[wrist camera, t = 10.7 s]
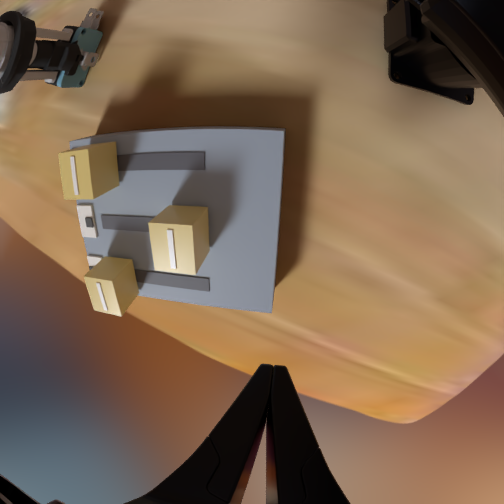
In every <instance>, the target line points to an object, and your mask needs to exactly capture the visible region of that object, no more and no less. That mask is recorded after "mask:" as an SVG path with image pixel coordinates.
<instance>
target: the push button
mask: <svg viewBox="0 0 504 504" xmlns="http://www.w3.org/2000/svg"><path fill="white" fill-rule="evenodd" d="M91 12H92V13H93V14H92V16H90V17H89V14H90V13H91ZM103 13H104V11H97V9H92V8H90V9H89V11H88V13H87V15H86V17H85V19H84V21H82V23H81V25H80V27H76V26H65V27H64V29H63V30H62V31H57V30H50V29H43V28H36V26H35V22H34V21H33V20H30V19H28V18H26V17H24V16H22V14H21V13H19V12H17V11H8V12H6V13H4V14H3V15H1V16H0V94H1V93H5V92H8V91H11V90H12V89H13V88H14V87H15V85H16V84H17V83H18V82H19V81H25V80H42V79H45V82H46V83H48V84H52V85H55V86H59V87H62V88H69V87H82V86H83V84H84V82H85V78H86V75H87V72H88V70H89V67H90V66H91V67H93V66H95V64H96V62H97V59H98V57H99V54H98V53H95V52H96V49H97V47H98V45H99V42H100V40H101V38H102V35H103V33H102V32H101V31H97V29H98V27H99V24H98V23H99V21H100V19H101V17H102V15H103ZM97 15H100V16H99V18H98V19H96V16H97ZM91 21H92V22H91ZM36 37H40V38H50V39H59V40H58V41H48V40H42V41H40V40H35V38H36ZM93 57H94V58H95V59H94V61H93V62H92V59H93ZM91 62H92V63H91ZM27 68H39V69H43V70H27Z"/></svg>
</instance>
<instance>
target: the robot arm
mask: <svg viewBox="0 0 504 504" xmlns="http://www.w3.org/2000/svg"><path fill="white" fill-rule="evenodd" d="M392 1H394V2H396V3H397V4H396V5H394V4H393V3H392ZM384 49H385V50H386V51H387V52H388V53H389V68H388V75H389V78H390V80H391V81H392V82H394V83H396V84H400V85H404V86H408V87H412V88H416V89H419V90H423V91H426V92H430V93H433V94H436V95H439V96H442V97H446V98H448V99H451V100H454V101H457V102H460V103H463V104H466V105H471V104H472V103H473V100H474V88H483V89H484V90H485V91H486V92H487V94H488V95H489V97H490V98H491V99H492V101H493V102H494V103H495V105H496V106H497V108H498V109H499V111H500V112H501V114H502V115H503V117H504V0H387V14H386V15H385V16H384ZM395 72H396V73H398V74H399V79H396V78H395V77H394V73H395ZM466 95H467V96H468V100H466V98H465V96H466ZM267 412H268V413H267ZM266 419H267V422H266ZM265 424H266V504H350V502H349V501H348V499H347V498H346V496H345V495H344V493H343V491H342V490H341V488H340V486H339V485H338V484H337V482H336V480H335V478H334V476H333V475H332V473H331V471H330V470H329V467H328V465H327V463H326V461H325V459H324V456H323V454H322V452H321V449H320V448H319V445H318V442H317V440H316V438H315V435H314V433H313V430H312V428H311V425H310V423H309V421H308V418H307V416H306V413H305V411H304V408H303V406H302V404H301V401H300V399H299V396H298V394H297V391H296V389H295V387H294V384H293V382H292V379H291V377H290V374H289V372H288V369H287V367H286V366H281V365H275V366H274V367H273V365H271V364H261V365H260V366H259V367H258V369H257V370H256V372H255V373H254V374H253V376H252V377H251V379H250V380H249V382H248V383H247V385H246V386H245V387H244V389H243V390H242V391H241V393H240V394H239V396H238V397H237V398H236V400H235V401H234V402H233V404H232V405H231V406H230V408H229V409H228V410H227V412H226V413H225V414H224V416H223V417H222V418H221V420H220V421H219V422H218V423H217V425H216V426H215V427H214V429H213V430H212V431H211V433H210V434H209V437H206V439H205V440H204V441H203V443H202V444H201V445H200V446H199V447H198V448H197V450H196V451H195V452H194V453H193V454H192V455H191V456H190V457H189V458H188V459H187V460H186V461H185V462H184V463H183V464H182V465H181V466H180V467H179V468H178V469H176V470H175V471H174V472H173V473H172V474H171V475H170V476H169V477H167V478H166V479H165V480H164V481H162V482H161V483H160V484H159V485H158V486H157V487H155V488H154V489H153V490H151V491H150V492H148V493H147V494H145V495H143V496H141V497H139V498H137V499H134V500H132V501H129V502H127V503H124V504H241V502H242V499H243V496H244V492H245V490H246V487H247V484H248V481H249V477H250V474H251V471H252V468H253V465H254V462H255V459H256V455H257V452H258V449H259V445H260V442H261V439H262V435H263V432H264V428H265ZM0 504H40V503H39V502H37V501H36V500H35V499H33V498H32V497H30V496H29V495H28V494H26V493H25V492H24V491H23V490H21V489H20V488H19V487H17V486H16V485H14V484H13V483H12V482H10V481H9V480H8V479H6V478H5V477H4V476H2V475H1V474H0ZM47 504H65V503H63V502H61V501H59V500H53V501H51V502H49V503H47Z"/></svg>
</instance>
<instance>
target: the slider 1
mask: <svg viewBox="0 0 504 504" xmlns="http://www.w3.org/2000/svg"><path fill="white" fill-rule="evenodd" d="M58 155H59V165H60V173H61V181H62V188H63V194H64V200H78V199H95V198H97V197H99V196H101V195H103V194H104V193H106V192H108V191H110V190H112V189H114V188H116V187H118V186H119V175H118V163H117V149H116V141H115V142H106V143H97V144H90V145H85V146H81V147H78V148H74V149H71V150H67V151H64V152H61V153H58Z"/></svg>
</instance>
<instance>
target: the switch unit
mask: <svg viewBox="0 0 504 504" xmlns="http://www.w3.org/2000/svg"><path fill="white" fill-rule="evenodd" d="M115 141H116V149H117V163H118V175H119V186H118V187H116V188H114V189H112V190H110V191H108V192H106V193H104V194H103V195H101V196H99V197H97V198H95V199H78V200H77V211H78V217H79V222H80V227H81V232H82V237H83V238H84V242H85V247H86V251H87V255H88V256H87V259H88V263H89V269H90V270H91V269H92V268H93V267H94V266H95V265H96V264H97V263H98V262H99V261H100V260H102V259H103V258H104V257H105V256H108V257H116V258H124V259H132V260H133V265H134V270H135V275H136V280H137V285H138V290H139V294H138V295H139V296H145V297H151V298H157V299H164V300H170V301H177V302H184V303H191V304H198V305H205V306H213V307H221V308H229V309H238V310H247V311H256V312H266V313H272V306H273V298H274V290H275V279H276V267H277V255H278V241H279V228H280V214H281V199H282V183H283V166H284V148H285V128H268V127H239V126H204V127H175V128H158V129H145V130H134V131H125V132H116V133H108V134H101V135H94V136H90V137H85V138H81V139H77V140H73V141H70V150H71V149H74V148H78V147H81V146H85V145H90V144H97V143H106V142H115ZM169 205H179V206H200V207H208V221H209V248H210V251H209V253H208V255H207V256H206V258H205V260H204V262H203V263H202V265H201V267H200V269H199V270H198V272H197V274H196V275H190V274H181V273H173V272H164V271H156V270H155V269H154V262H153V255H152V248H151V241H150V233H149V225H148V222H150V221H151V220H152V219H153V218H154V217H155V216H157V215H158V214H159V213H160V212H161V211H163V210H164V209H165V208H166V207H168V206H169Z"/></svg>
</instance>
